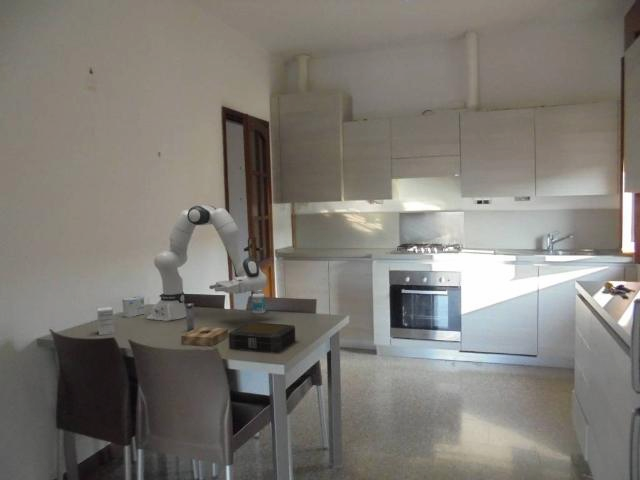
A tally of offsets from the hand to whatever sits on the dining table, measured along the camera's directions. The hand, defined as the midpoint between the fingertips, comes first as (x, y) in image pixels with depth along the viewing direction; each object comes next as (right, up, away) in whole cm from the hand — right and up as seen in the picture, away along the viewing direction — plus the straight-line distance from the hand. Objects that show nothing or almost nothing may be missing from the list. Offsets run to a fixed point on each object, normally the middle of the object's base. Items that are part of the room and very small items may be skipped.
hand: (212, 288), depth 254 cm
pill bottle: (+20, -18, +33) cm, 42 cm away
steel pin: (-10, -21, -4) cm, 24 cm away
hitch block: (+1, -22, -22) cm, 31 cm away
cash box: (+30, -23, -32) cm, 49 cm away
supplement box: (-54, -23, -2) cm, 59 cm away
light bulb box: (-54, -20, +35) cm, 67 cm away
